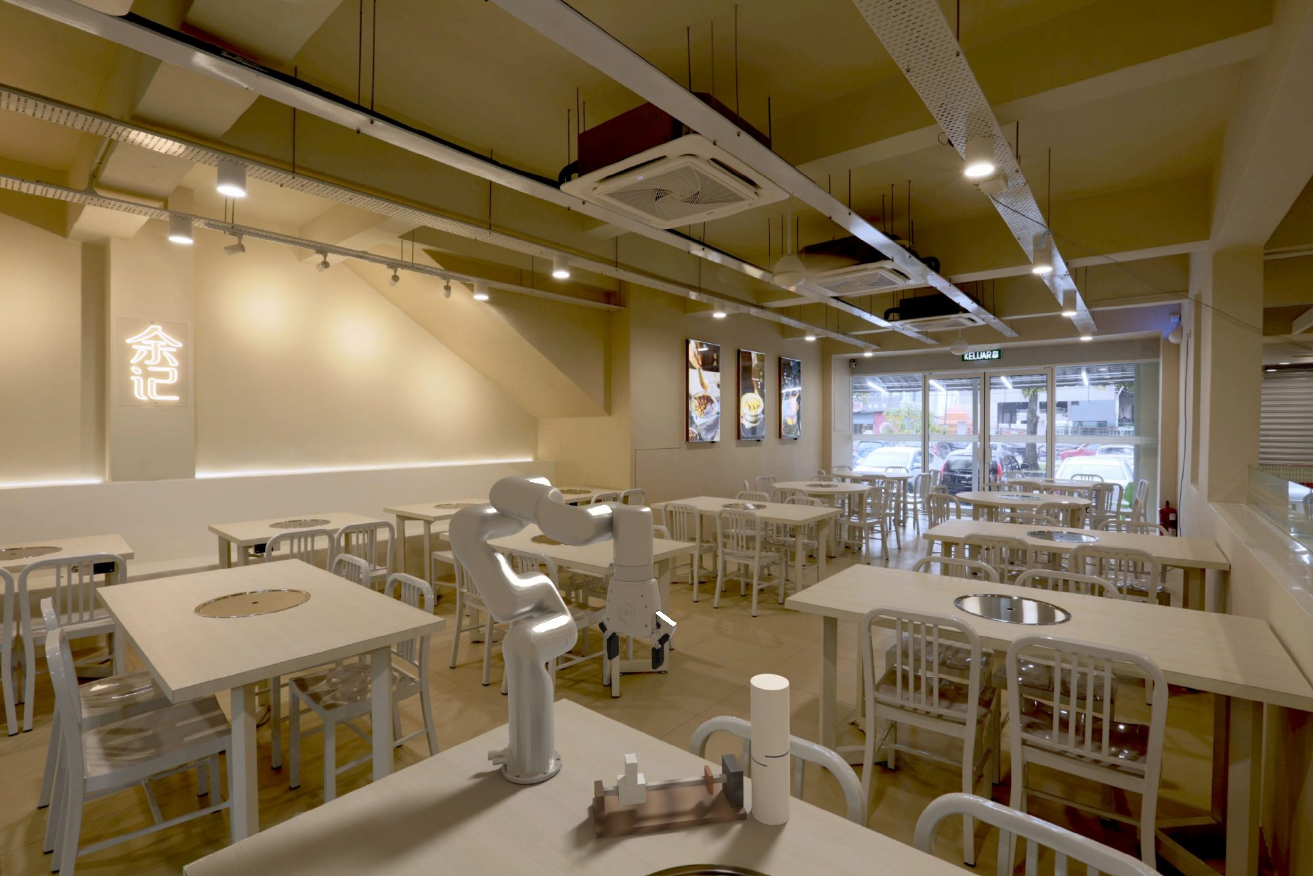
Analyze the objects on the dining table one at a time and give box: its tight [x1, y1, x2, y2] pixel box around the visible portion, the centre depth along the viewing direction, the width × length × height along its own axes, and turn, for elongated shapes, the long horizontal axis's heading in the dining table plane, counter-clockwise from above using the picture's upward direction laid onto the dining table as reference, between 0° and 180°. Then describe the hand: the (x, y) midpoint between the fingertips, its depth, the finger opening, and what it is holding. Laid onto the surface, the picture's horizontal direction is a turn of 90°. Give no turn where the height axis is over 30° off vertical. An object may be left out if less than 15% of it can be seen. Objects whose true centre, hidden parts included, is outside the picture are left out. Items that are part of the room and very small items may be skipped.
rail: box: [592, 753, 748, 840], centre depth 115 cm, size 28×10×8 cm, turn 100°
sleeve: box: [616, 752, 646, 806], centre depth 113 cm, size 5×4×8 cm
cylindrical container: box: [750, 673, 791, 826], centre depth 114 cm, size 7×7×25 cm
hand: (635, 662), depth 113 cm, fingers open, 9 cm apart
